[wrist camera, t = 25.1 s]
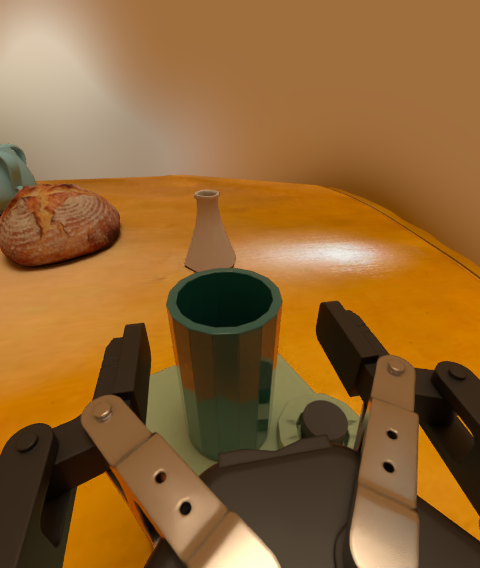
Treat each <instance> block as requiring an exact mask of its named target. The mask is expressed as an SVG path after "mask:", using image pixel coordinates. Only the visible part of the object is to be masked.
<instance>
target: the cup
mask: <svg viewBox="0 0 480 568" xmlns="http://www.w3.org/2000/svg"><path fill="white" fill-rule="evenodd" d="M166 307H167V313H168V319H169V325H170V332H171V338H172V344H173V350H174V357H175V363H176V369H177V376H178V382H179V388H180V394H181V401H182V407H183V413H184V419H185V426H186V428H187V433H188V437H189V439H190V441H191V443H192V445H193V446H194V448H195V449H196V450H197V451H198V452H199V453H200V454H202V455H203V456H205V457H206V458H209V459H211V460H214V461H217V462H218V453H223V452H229V451H234V450H240V449H258V450H259V449H260V448H261V447H262V446H263V444H264V443H265V441H266V439H267V437H268V434H269V430H270V424H271V420H272V409H273V398H274V387H275V376H276V365H277V355H278V344H279V333H280V322H281V311H282V298H281V294H280V291H279V288H278V287H277V286H276V285H275V284H274V283H273V282H272V281H271V280H270V279H269V278H267V277H265V276H262V275H260V274H258V273H256V272H253V271H249V270H243V269H238V268H215V269H209V270H205V271H200V272H197V273H194V274H192V275H190V276H188V277H186V278H184V279H182V280H181V281H179V282H178V283H177V284H176V285H175V286H174V287H173V288H172V289H171V290H170V292H169V295H168V299H167V303H166Z"/></svg>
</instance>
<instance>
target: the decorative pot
mask: <svg viewBox="0 0 480 568" xmlns="http://www.w3.org/2000/svg"><path fill="white" fill-rule="evenodd" d="M12 150H14V151H15V152H14V151H12ZM15 153H16V154H15ZM23 186H37V183H36V181H35V179H34V176H33V175H32V174H31V172H30V170H29V169H28V168H27V166H26V158H25V155H24V153H23V151H22V150H21V149H20V148H19V147H17V146H15V145H12V144H4V145H2V144H0V214H1V213H2V210H5V208H6V207H7V206H8V204H9V203H10V202H11V200H12V198H13V197H15V195H16V194H17V193H18V192H19V190H20V189H22V187H23Z"/></svg>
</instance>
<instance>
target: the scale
mask: <svg viewBox="0 0 480 568" xmlns="http://www.w3.org/2000/svg"><path fill="white" fill-rule="evenodd" d="M316 400H325V401H329V402H331V403H334V404H335V405H337V406H338V407H339V408H340V409H341V410H342V411H343V412H344V413H345V415H346V417H347V421H348V429H347V432H346V435H345V438H344V442H343V444H342V445H343V446H346V447H349V448H351V449H353V447H354V443H355V439H356V434H357V429H358V424H359V420H360V417H359V416H358V415H357V414H356V413H355V412H354V411H353V410H352V409H351V408H350V407H349V406H348V405H347V404H346V403H344V402H342V401H340V400H338V399H335V398H333V397H331V396H328V395H326V394H316V393H315V392H314V391H313V390H312V389H311V388H310V387H309V385H308V384H307V383H306V382H305V381H304V380H303V379H302V378H301V377H300V376H299V375H298V374H297V373H296V372H295V371H294V370H293V368H292V367H291V366H290V365H289V364H288V363H287V362H286V361H285V360H284V359H283V358H282V357H281V356H280V355H279V354H278V355H277V365H276V376H275V387H274V398H273V409H272V420H271V424H270V430H269V434H268V437H267V439H266V441H265V443H264V444H263V446H262V447H261V448H260V449H259V450H269V451H276V450H279V449H281V448H283V447H285V446H287V445H289V444H291V443H293V442H295V441H297V440H299V439H302V435H301V431H300V427H301V422H302V416H303V411H304V409H305V407H306V406H307V405H308V404H309V403H311V402H313V401H316ZM146 427H147V428H148V429H149V430H150V431H151V432H152V433H154V432H157V433H159V434H160V435H161V436H162V437H163V438H164V439H165V440H166V441H167V443H168V444H169V445H170V446H171V447H172V448H173V449H174V450H175V451H176V452H177V454H178V455H179V456H180V457H181V458H182V459H183V460H184V461H185V462H186V463H187V465H188V466H189V467H190V468H191V469H192V470H193V471H194V472H195V473H196V474H197V475H198V476H199V475H200V474H201V473H202V472H204V471H205V470H206V469H207V468H209V467H210V466H212V465H214V464H216V463H218V462H217V461H214V460H211V459H209V458H206V457H205V456H203V455H202V454H200V453H199V452H198V451H197V450H196V449H195V448H194V446H193V445H192V443H191V441H190V439H189V437H188V433H187V428H186V426H185V419H184V413H183V407H182V401H181V394H180V388H179V382H178V376H177V369H176V365H174V366H172V367H169V368H167V369H164V370H162V371H159V372H157V373H154V374H152V375H150V381H149V393H148V405H147V417H146ZM152 546H153V545H152ZM153 549H154V546H153Z"/></svg>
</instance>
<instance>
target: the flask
mask: <svg viewBox="0 0 480 568" xmlns="http://www.w3.org/2000/svg"><path fill="white" fill-rule="evenodd" d="M219 196H220V192H219V191H215V190H201V191H197V192H196V193H195V194H194V198H195V199H196V200H197V218H196V225H195V229H194V233H193V237H192V241H191V244H190V247H189V251H188V254H187V257H186V261H185V265H186V266H187V267H189V268H191V269H193V270H195V271H197V272H200V271H205V270H209V269H215V268H230V267H232V266H233V265H234V262H235V258H236V255H235V252H234V250H233V248H232V246H231V243H230V241H229V239H228V237H227V234H226V231H225V229H224V226H223V224H222V221H221V218H220V213H219V209H218V197H219Z"/></svg>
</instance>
